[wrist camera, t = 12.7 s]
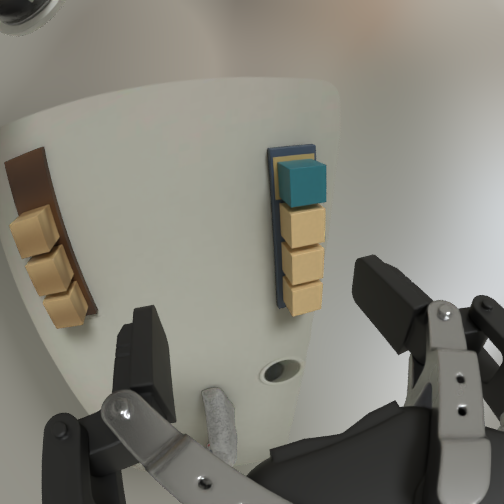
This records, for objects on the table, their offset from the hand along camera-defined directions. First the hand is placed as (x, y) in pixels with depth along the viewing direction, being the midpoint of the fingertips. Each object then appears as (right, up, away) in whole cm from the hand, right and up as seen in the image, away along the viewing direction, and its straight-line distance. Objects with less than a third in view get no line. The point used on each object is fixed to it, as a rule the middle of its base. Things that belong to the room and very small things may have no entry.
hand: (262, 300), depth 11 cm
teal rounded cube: (+5, +11, +25) cm, 27 cm away
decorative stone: (-8, -28, +43) cm, 52 cm away
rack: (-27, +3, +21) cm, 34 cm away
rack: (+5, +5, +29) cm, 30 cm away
